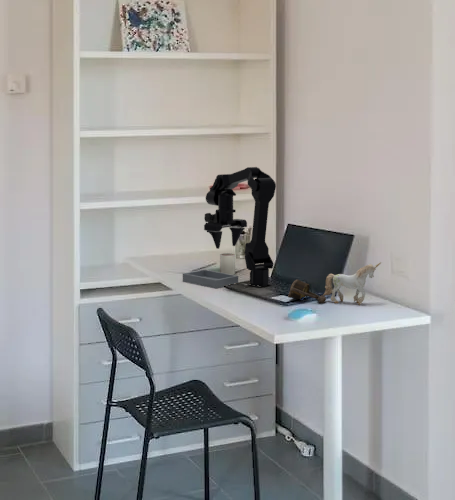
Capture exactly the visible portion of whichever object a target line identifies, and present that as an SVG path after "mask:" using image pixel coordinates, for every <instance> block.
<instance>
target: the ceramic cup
mask: <svg viewBox="0 0 455 500" xmlns="http://www.w3.org/2000/svg"><path fill="white" fill-rule="evenodd" d="M236 257H237V256H236V254H235V253H232V252H231V253H230V252H229V253H228V252H227V253H226V252H224V253H220V254H219V272H220V273H226V274H231V275H236Z"/></svg>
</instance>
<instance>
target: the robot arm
mask: <svg viewBox="0 0 455 500" xmlns="http://www.w3.org/2000/svg"><path fill="white" fill-rule="evenodd" d="M213 181H214V182H213V184H212V185H211V187H209V191H208V192H207V193H206V195H205V202H206V203H207V204H208V205H211V206H217V207H218V208H217V209H215V212H214V214H212V213H211V212H207V213H204V222H205V223H204V225H203V226H204V227H203V230H204V231H206V232H207V233H209V234H210V235H211V237H212V240H213V243H214V246H215V247H216V249H220V246H221V242H222V236H223V231H222V229H224V228H228V229H229V230H230V232H231V242H232V243H231V245H232V246H233V247H236V245H237V243H238V241H239V239H240V237H241V235H242V233H243V232H244V230H245V229H246V228H247V227H248V222H247V220H246V219H243V218H242V219H240V218H234V213H236V209H234V197H236V196H237V193H236V192H235V191H234V190H233V189H235V188H237V187H238V185H239V184H241V183H244V182H247V185H248V186H249V188H250V189H251V195H252V198H253V200H254V211H253V222H252V230H251V240H250V241H249V242H246V243H245V249H244V253H243V254H244V261H245V265H246V269H247V270H248V271H249V283H247V285H248V284H251V285H255V286H257V285H259V286H264V287H268V286H267V285H269V286H272V283H270V281H269V280H270V279H269V278H270V277H269V276H270V269H273V267H274V262H273V259H272V257H271V256H270V254H269V249H270V248H269V247H268V245H267V242H266V234H267V225H268V217H269V215H268V214H269V205H270V202H271V201H272V199H273V198H274V197H275V193H276V187H277V183H276V182H275V180H274V179H273V178H272V177H271V176H270V175H269V174H268V173H266V172H264V171H263V170H261V169H260V168H259V167H257V166H251V167H246V168H244V169H241V170H239V171H235V172H232V173H227V174H225V173H224V174H217V175H216V178H215V179H214V180H213ZM255 286H254V287H255Z"/></svg>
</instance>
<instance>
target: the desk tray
mask: <svg viewBox="0 0 455 500" xmlns="http://www.w3.org/2000/svg"><path fill="white" fill-rule="evenodd" d="M182 282H183V283H189V284H193V285H198V286H202V287H208V288H213V289H220V288H225V287H224V286H225V285H229V284H234V283H238V284H239V275H236V274H235V275H231V274H226V273H220V271H215V270H214V271H213V270H210V269H209V270H208V269H201V270H200V269H199V270H196V271H194V270H193V271H188V272H186V273H185V272H184V273H182Z"/></svg>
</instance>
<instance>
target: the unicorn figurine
mask: <svg viewBox="0 0 455 500" xmlns="http://www.w3.org/2000/svg"><path fill="white" fill-rule="evenodd" d="M381 264H382V262H381V261H379V263H377V264H376V265H373V264H372V263H369V264H367V265H364V266H362V267H360V268H359V269H358V270H356V271H355V273H354V274H351V275H347V274H344V273H338V274H333V273H329V274H327V276H325V277H326V279H325V286H324V288H325V290H324V293H323V294H322V295H324V296H325V297H326V296H330V295H331V297H330V301H331V302H334V304H339V303H340V302H339V301H341V302H343V301H344V294H343V292H342V291H341V290H340V289H341V288H342V287H344V288H347V289H352V290H353V289H356V291H355V295H353V302H356V303H357V304H358V306H360V305H362V303H363V302H364V301H365V297H366V292H365V290H364V287H365V285H366V282H367V281H366V279H367V277H368V278H369V279H373V278H374V277H375V276H374V273H375V270H376V269H377V268H378V267H379V266H380V265H381ZM336 292H337V296H338V297H339V301H338V299H337V298H336ZM359 293H361V296H359Z"/></svg>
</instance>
